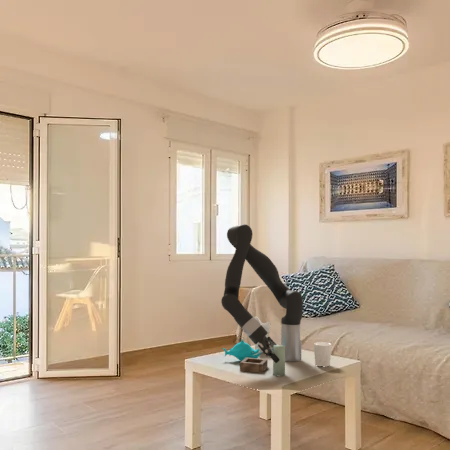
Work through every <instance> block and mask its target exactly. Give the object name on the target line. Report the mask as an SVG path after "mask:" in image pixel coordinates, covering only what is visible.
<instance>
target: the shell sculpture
mask: <svg viewBox="0 0 450 450" xmlns="http://www.w3.org/2000/svg"><path fill="white" fill-rule="evenodd" d="M253 317H254V318H255V319H256V320H257V321H258V322H259V323H260V324H261V325H262V326H263V328H264V329H265V330H266V331H267V332H268V334H267V335H266V337H267V338H268V337H269V335H270V332H271V322H270V320H267V321H266V322H262V321H261V320H260V318H259V316H253ZM259 344H260V343H259V342H258V343H257V344H254V350H257V349H259V350H260V352H261V353H260V354H265V353H264V352H263V351H262V350H261V349H260V348H259V346H258V345H259Z"/></svg>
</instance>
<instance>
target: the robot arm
mask: <svg viewBox="0 0 450 450" xmlns="http://www.w3.org/2000/svg"><path fill="white" fill-rule="evenodd" d="M226 238H227V241H228V242H229V243H230V245H231V246H232V247H234V249H235V251H234V254H233V257H231V260H230V262H229V265H228V267H227V269H226V274H225V279H224V291H223V296H222V297H221V302H220V303H221V306H222V308H223V309H224V310H225V311H227V313H229V314H230V315H231V317H233V320H234V321H235V322H236V323H237V325H238V326H239V327H240V328H241V330H242V331H243V333H245V335H246V336H247V337H248V338H249V339H250V340H251V342H252V343H253V344H254V345H255V344H257V343H258V342H259V343H260V344H259V345H258V346H259V348H260V349H261V350H262V351H263V352H264V353H263V354H264V355H265V357H269V358H271V359H272V361H274V362H275V363H277V362H278V361H279V360H280V359H279V358H278V357H277V356H276V355H275V353H274V352H273V346H274V345H278V344H277V343H276V342H275V341H274V340H273V338H271V336H268V338H267V337H266V335H267V334H268V332H267V331H266V330H265V329H264V328H263V326H262V325H261V324H260V323H259V322H258V321H257V320H256V319H255V318H254V317H255V316H253V315H252V314H251V312H249V311H248V309H246V308H245V307H244V305H243V303H242V302H241V301H240V300H239V297H240V296H239V294H240V293H239V292H240V288H241V284H242V283H241V281H242V277H243V276H242V275H243V270H244V265H245V262H247V263H248V265H249V266H250V267H251V268H252V269H253V271H254V272H255V273H256V275H257V276H258V277H259V278H260V279H261V281H263V283H264V285H266V287H267V288H268V289H269V290H270V291H271V294H273V297H274V298H275V299H276V301H277V302H278V304H279V305H280V306H281V307H282V308H283V309H286V310H285V315H284V316H282V317H281V320H280V321H281V322H280V323H281V324H280V325H281V327H280V332H281V333H280V335H281V337H280V345H284V346H285V362H301V361H302V345H303V344H302V342H303V341H302V340H301V321H302V318H303V312H304V311H303V307H304V300H303V296H302V294H301V293H300V292H299V291H296V290H292V289H289V288H288V287H287V286H286V285H285V283H283V281H282V280H281V278H280V274H279V271H278V268H277V267H276V265H275V264H274V263H273V261H272V259H271V258H270V257H268V256H267V255H266V254H264V253H263V252H262V251H260V250H258V249H257V248H255V247H254V246H253V245H252V239H253V229H252V228H251V226H249V225H248V224H246V223H245V224H244V223H243V224H239V225H235V226H231V227H229V228H228V229H227V232H226ZM273 353H274V354H273Z"/></svg>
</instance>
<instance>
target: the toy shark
mask: <svg viewBox="0 0 450 450" xmlns="http://www.w3.org/2000/svg"><path fill="white" fill-rule="evenodd" d="M222 350H223V351H224V357H226V356H227V355H229V356H233V357H234V358H236V359H237V360H238V361H240V362H241V361H242V360H244V359H245V358H246V357H247V358H258V359H259V357H260V356H261V354H262V353H261V352H260V350H259V349H257V350H255V348H254V347H253V348H252V346H251V345H250V344H249V343H247V342H245V341H244V339H242V338H241V340H240V342H238V343H236V344H235V345H234V346H232V348H229V350H227V349H226V348H224V347H222Z"/></svg>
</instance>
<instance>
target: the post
mask: <svg viewBox="0 0 450 450" xmlns="http://www.w3.org/2000/svg"><path fill="white" fill-rule="evenodd" d="M273 352H274V353H275V355H276V356H277V357H278V358H279V359H280V360H279V361H278V362H277V363H275V362H274V361H273V360H272V361H273V362H272V375H273V376H276V377H284V376H285V375H286V361H285V346H284V345H281V344H277V345H274V346H273ZM274 353H273V354H274Z"/></svg>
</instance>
